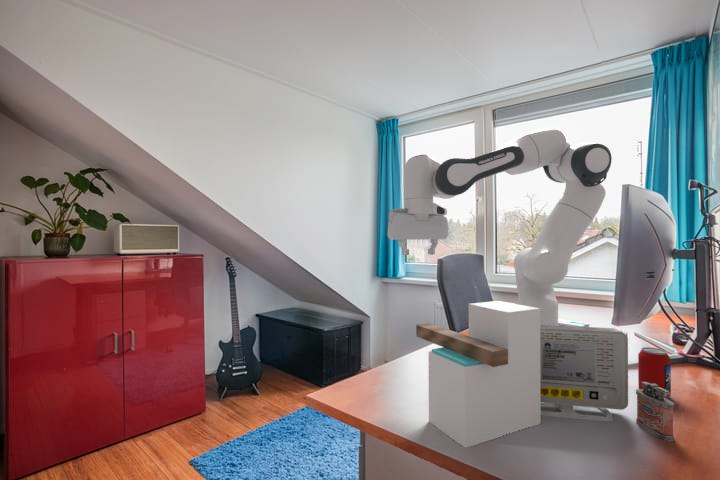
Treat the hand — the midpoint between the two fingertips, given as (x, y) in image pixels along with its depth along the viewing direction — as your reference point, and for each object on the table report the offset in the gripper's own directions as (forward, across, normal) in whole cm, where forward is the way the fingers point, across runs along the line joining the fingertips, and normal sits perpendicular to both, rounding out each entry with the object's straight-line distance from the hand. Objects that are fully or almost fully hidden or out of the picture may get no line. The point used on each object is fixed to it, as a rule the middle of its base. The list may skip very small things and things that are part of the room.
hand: (418, 254), depth 112 cm
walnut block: (+20, -8, -26) cm, 34 cm away
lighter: (+37, +27, -49) cm, 67 cm away
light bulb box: (+37, +66, -4) cm, 76 cm away
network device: (+37, +20, -34) cm, 54 cm away
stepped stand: (+37, -3, -30) cm, 48 cm away
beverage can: (+37, +48, -39) cm, 72 cm away
